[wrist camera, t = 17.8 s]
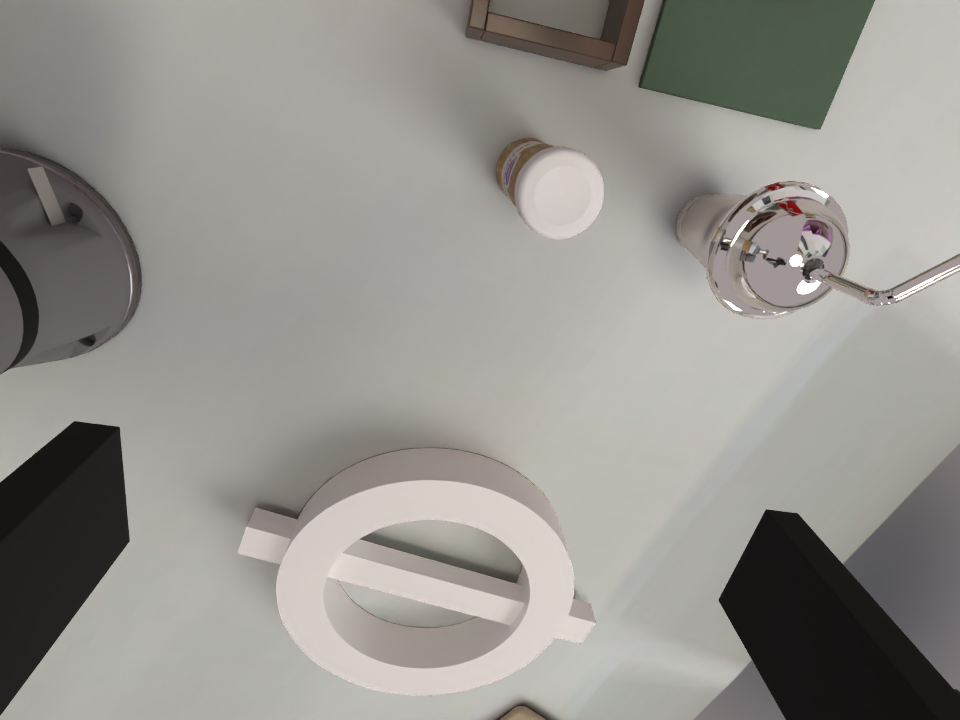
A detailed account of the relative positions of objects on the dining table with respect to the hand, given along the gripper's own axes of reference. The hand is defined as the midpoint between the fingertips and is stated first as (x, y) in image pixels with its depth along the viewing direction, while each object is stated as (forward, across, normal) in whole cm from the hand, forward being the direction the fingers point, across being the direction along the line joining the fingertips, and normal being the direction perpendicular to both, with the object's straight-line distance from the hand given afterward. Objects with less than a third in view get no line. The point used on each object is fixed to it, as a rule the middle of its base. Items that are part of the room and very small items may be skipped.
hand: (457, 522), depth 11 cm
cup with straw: (+33, +20, +4) cm, 39 cm away
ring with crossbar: (+33, +4, -34) cm, 47 cm away
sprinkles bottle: (+33, +5, +5) cm, 34 cm away
